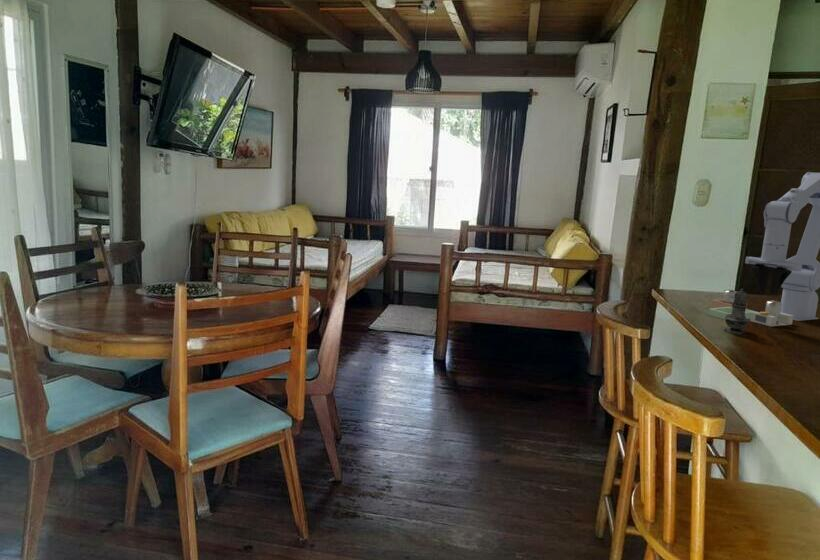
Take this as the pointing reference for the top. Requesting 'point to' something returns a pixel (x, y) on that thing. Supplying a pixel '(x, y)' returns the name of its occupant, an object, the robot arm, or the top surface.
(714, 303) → the cup
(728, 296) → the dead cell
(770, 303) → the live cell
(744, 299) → the grey chess piece
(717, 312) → the trough
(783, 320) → the cradle
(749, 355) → the top surface
